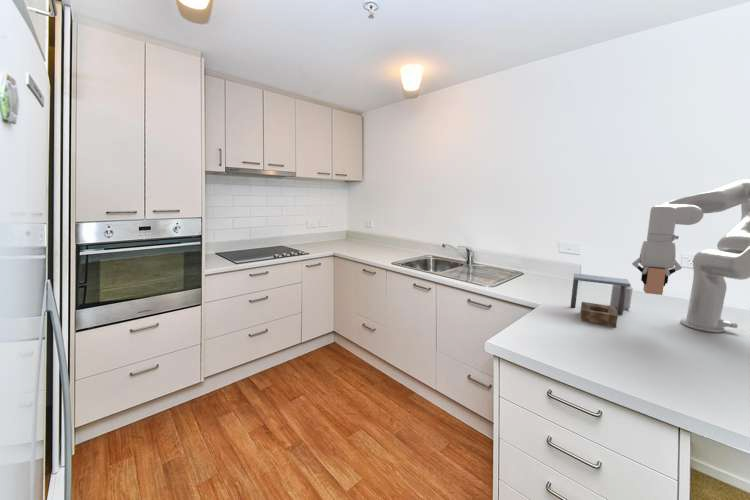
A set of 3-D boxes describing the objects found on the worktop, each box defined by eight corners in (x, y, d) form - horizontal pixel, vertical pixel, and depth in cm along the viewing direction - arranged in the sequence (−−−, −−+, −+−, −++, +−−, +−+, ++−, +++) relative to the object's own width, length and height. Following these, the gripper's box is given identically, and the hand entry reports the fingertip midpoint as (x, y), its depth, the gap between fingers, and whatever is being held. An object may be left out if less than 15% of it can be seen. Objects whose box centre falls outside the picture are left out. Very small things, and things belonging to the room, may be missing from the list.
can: (629, 311, 148) (633, 286, 146) (609, 308, 153) (612, 283, 151) (629, 307, 154) (632, 283, 152) (610, 304, 159) (613, 280, 157)
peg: (659, 291, 128) (662, 266, 126) (662, 295, 124) (665, 269, 122) (643, 289, 130) (646, 265, 129) (645, 293, 126) (648, 268, 125)
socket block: (612, 317, 141) (614, 306, 141) (616, 327, 130) (617, 315, 130) (580, 312, 148) (581, 301, 147) (580, 321, 137) (582, 310, 136)
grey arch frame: (622, 314, 145) (627, 279, 142) (624, 320, 138) (630, 283, 135) (570, 306, 155) (574, 273, 153) (570, 311, 148) (574, 277, 145)
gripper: (687, 238, 122) (680, 284, 125) (630, 235, 131) (625, 279, 134) (693, 240, 116) (685, 289, 119) (633, 238, 125) (627, 283, 128)
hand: (653, 283), depth 126 cm, fingers closed on peg, 4 cm apart
